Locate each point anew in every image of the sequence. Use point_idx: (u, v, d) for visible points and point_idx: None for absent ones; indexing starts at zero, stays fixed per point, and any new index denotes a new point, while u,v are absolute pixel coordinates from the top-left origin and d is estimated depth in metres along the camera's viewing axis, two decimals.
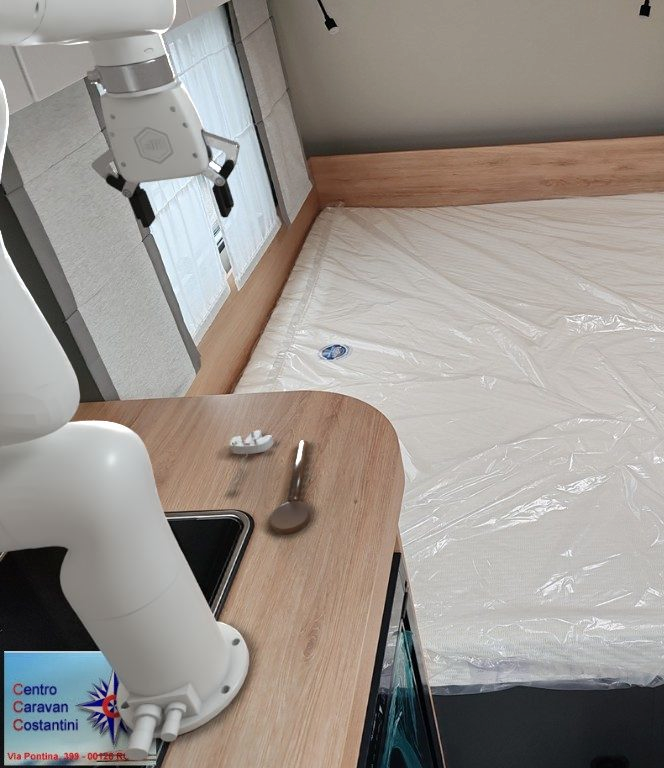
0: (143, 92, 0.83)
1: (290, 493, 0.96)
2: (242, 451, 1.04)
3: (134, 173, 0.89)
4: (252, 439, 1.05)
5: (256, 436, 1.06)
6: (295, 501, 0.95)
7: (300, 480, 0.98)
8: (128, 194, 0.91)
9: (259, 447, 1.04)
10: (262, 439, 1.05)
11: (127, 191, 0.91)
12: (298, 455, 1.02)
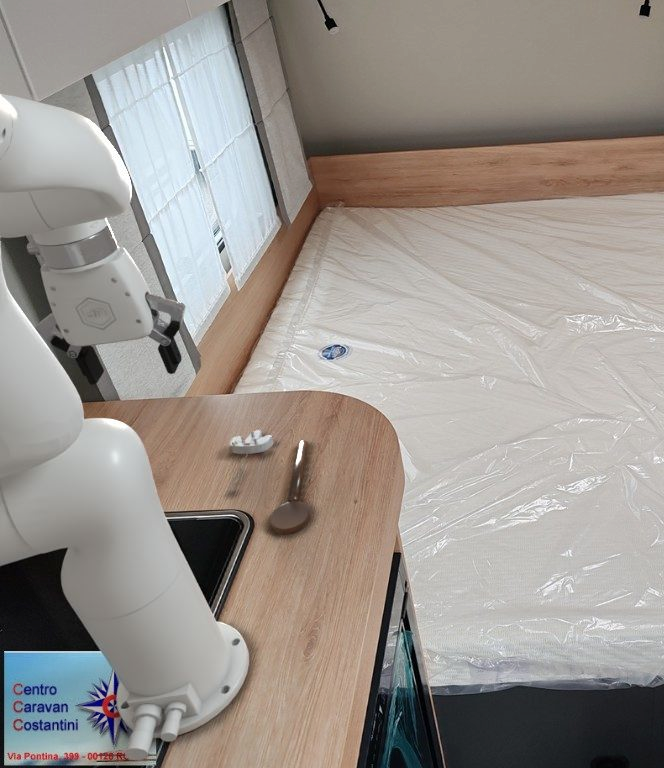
0: (82, 268, 0.82)
1: (290, 493, 0.96)
2: (242, 451, 1.04)
3: (77, 338, 0.88)
4: (252, 439, 1.05)
5: (256, 436, 1.06)
6: (295, 501, 0.95)
7: (300, 480, 0.98)
8: (74, 355, 0.91)
9: (259, 447, 1.04)
10: (262, 439, 1.05)
11: (73, 352, 0.90)
12: (298, 455, 1.02)
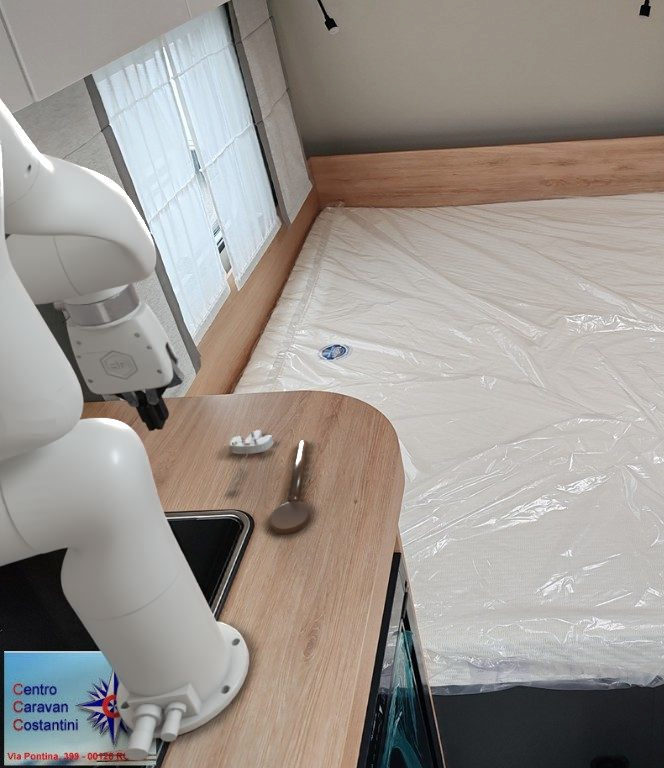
0: (107, 324, 0.86)
1: (290, 493, 0.96)
2: (242, 451, 1.04)
3: (101, 388, 0.92)
4: (252, 439, 1.05)
5: (256, 436, 1.06)
6: (295, 501, 0.95)
7: (300, 480, 0.98)
8: (136, 403, 0.96)
9: (259, 447, 1.04)
10: (262, 439, 1.05)
11: (133, 402, 0.96)
12: (298, 455, 1.02)
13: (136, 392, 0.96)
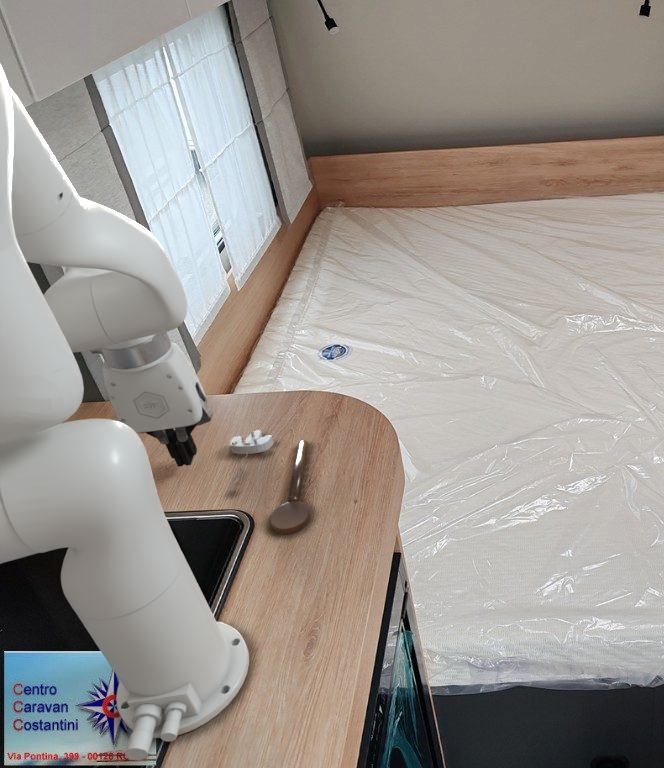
0: (141, 367, 0.90)
1: (290, 493, 0.96)
2: (242, 451, 1.04)
3: (133, 426, 0.95)
4: (252, 439, 1.05)
5: (256, 436, 1.06)
6: (295, 501, 0.95)
7: (300, 480, 0.98)
8: (166, 440, 0.99)
9: (259, 447, 1.04)
10: (262, 439, 1.05)
11: (163, 439, 0.99)
12: (298, 455, 1.02)
13: (166, 429, 1.00)
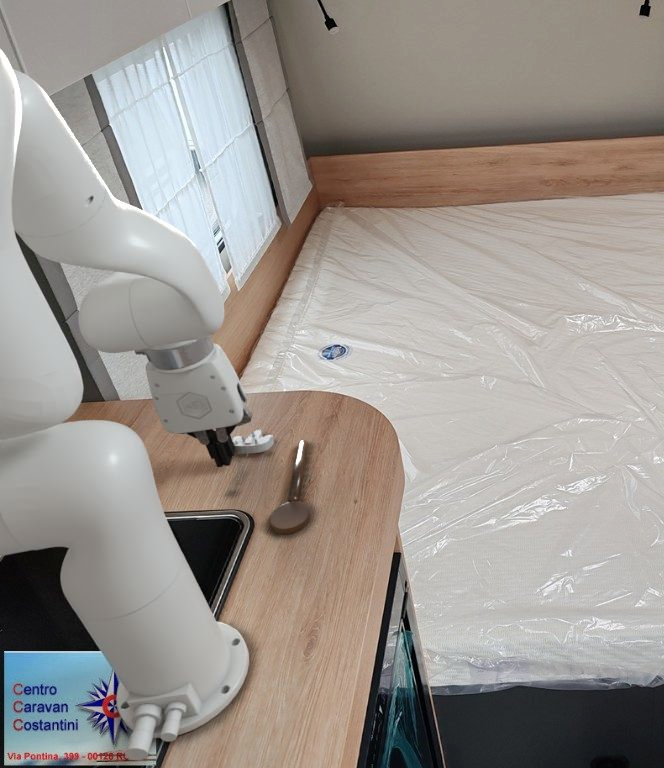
0: (186, 368, 0.91)
1: (290, 493, 0.96)
2: (243, 451, 1.04)
3: (175, 427, 0.96)
4: (253, 439, 1.05)
5: (256, 436, 1.06)
6: (295, 501, 0.95)
7: (300, 480, 0.98)
8: (206, 441, 1.00)
9: (260, 447, 1.04)
10: (262, 439, 1.05)
11: (204, 440, 0.99)
12: (298, 455, 1.02)
13: (206, 430, 1.00)
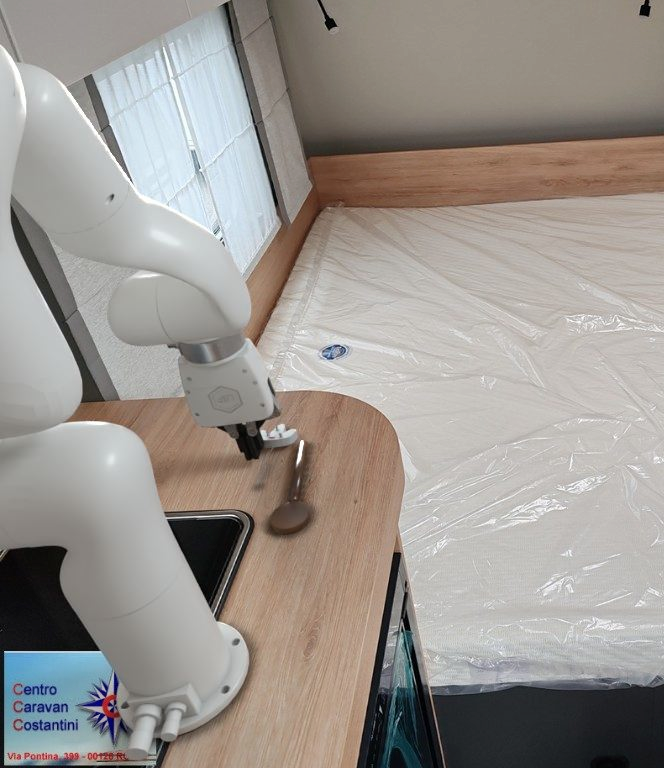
0: (219, 362, 0.91)
1: (290, 493, 0.96)
2: (267, 445, 1.05)
3: (206, 421, 0.96)
4: (277, 433, 1.06)
5: (280, 430, 1.07)
6: (295, 501, 0.95)
7: (300, 480, 0.98)
8: (236, 435, 1.00)
9: (284, 441, 1.04)
10: (287, 433, 1.06)
11: (233, 433, 1.00)
12: (298, 455, 1.02)
13: (236, 424, 1.01)
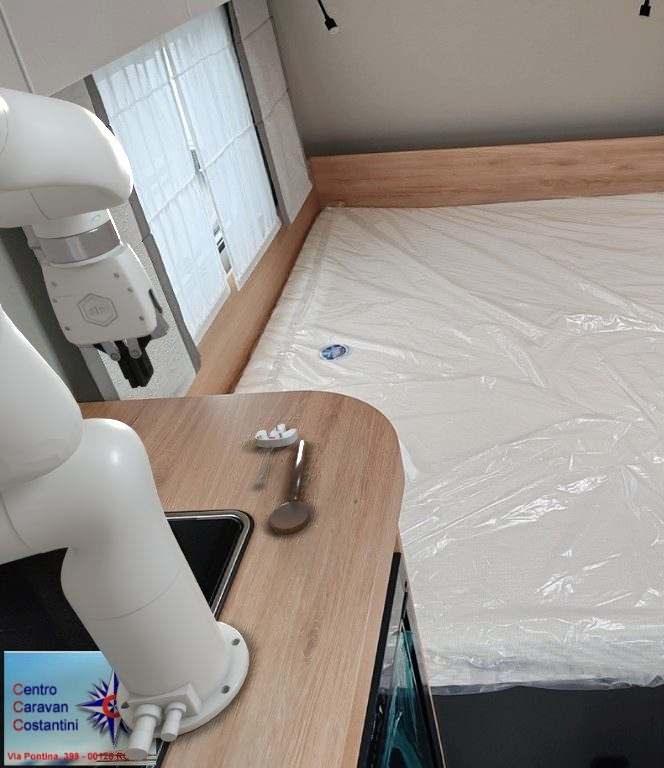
0: (84, 262, 0.80)
1: (290, 493, 0.96)
2: (267, 445, 1.05)
3: (78, 336, 0.85)
4: (277, 433, 1.06)
5: (280, 430, 1.07)
6: (295, 501, 0.95)
7: (300, 480, 0.98)
8: (117, 356, 0.89)
9: (284, 441, 1.04)
10: (287, 433, 1.06)
11: (114, 355, 0.89)
12: (298, 455, 1.02)
13: (118, 345, 0.89)
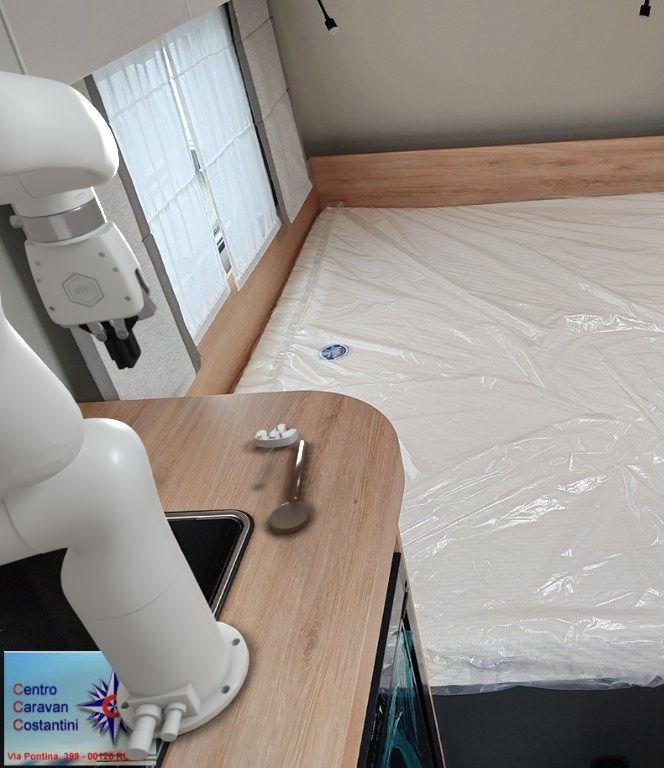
0: (68, 241, 0.78)
1: (290, 493, 0.96)
2: (267, 445, 1.05)
3: (64, 317, 0.84)
4: (277, 433, 1.06)
5: (280, 430, 1.07)
6: (295, 501, 0.95)
7: (300, 480, 0.98)
8: (103, 337, 0.87)
9: (284, 441, 1.04)
10: (287, 433, 1.06)
11: (100, 336, 0.87)
12: (298, 455, 1.02)
13: (104, 326, 0.88)
